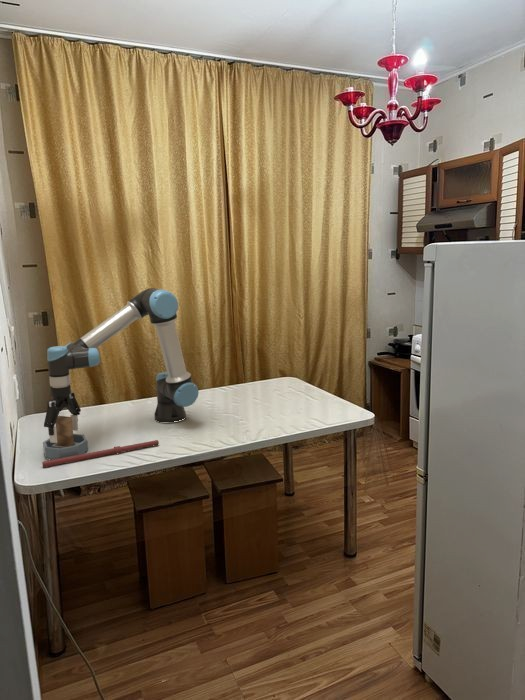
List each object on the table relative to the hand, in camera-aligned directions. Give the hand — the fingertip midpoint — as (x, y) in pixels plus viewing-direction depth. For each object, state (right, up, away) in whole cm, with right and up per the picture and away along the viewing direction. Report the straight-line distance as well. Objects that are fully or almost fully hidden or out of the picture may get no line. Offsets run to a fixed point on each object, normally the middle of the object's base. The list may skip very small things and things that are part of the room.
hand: (64, 436), depth 206 cm
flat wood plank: (0, -6, +1) cm, 6 cm away
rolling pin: (+16, -8, -2) cm, 18 cm away
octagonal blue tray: (0, -7, +2) cm, 7 cm away
